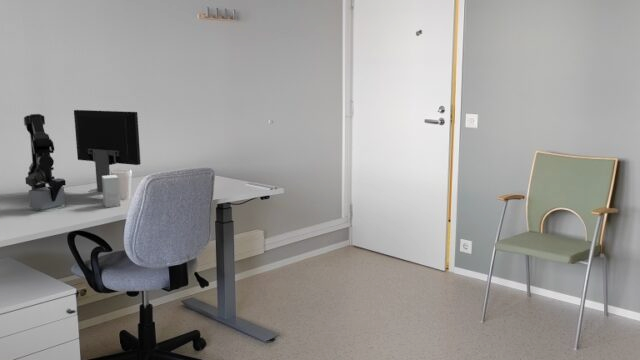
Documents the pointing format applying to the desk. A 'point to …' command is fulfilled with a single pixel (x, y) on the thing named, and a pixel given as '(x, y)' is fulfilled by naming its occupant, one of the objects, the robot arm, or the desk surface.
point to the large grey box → (45, 198)
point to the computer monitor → (107, 140)
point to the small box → (111, 190)
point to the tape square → (49, 208)
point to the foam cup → (123, 182)
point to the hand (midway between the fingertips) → (47, 200)
